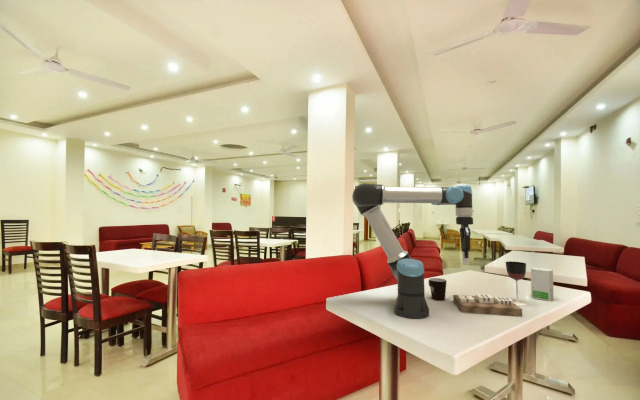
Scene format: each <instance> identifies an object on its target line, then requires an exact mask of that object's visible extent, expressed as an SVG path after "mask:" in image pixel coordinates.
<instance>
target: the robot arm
mask: <svg viewBox="0 0 640 400" xmlns="http://www.w3.org/2000/svg"><path fill="white" fill-rule="evenodd" d="M471 186H472V185H466V184H465V185H464V184H461V185H455V186H448V187H447V186H441V187H440V186H384V184H374V183H365V182H364V183H361V184H359V185H357V186H355V188H354V189H353V192H352V196H351V199H352V202H353V204H354V205H355V206H356V208H357V210H358V212H359V214H360V215H361V216H363V217H365V218H366V220H367V222H368V224H369V226H370V228H371V229H372V232H374V235H375V236H376V238H377V240H378V242H379V244H380V245H381V248H382V250H383V251H384V253H385V255H386V257H387V260H386V263H387V265H388V267H389V268H390V270H391V274H392V275H393V277H394V278H395V279H396V280H397V296H396V299H395V303H394V307H393V311H394V313H395V315H397V314H398V315H397V316H399V315H400V317H402V316H403V318H407V319H424V318H428V317H429V316H430V308H429V304H428V302H427V300H426V296H425V268H424V263H423V262H422V261H421V260H419V259H415V258H412V257H411V256H410V254H409V252H408V251H406V250H404V249H403V246H402V245H401V244H400V242H399V240H398V238H397V236H396V234H395V233H394V231H393V229H392V227H391V225H390V224H389V222H388V220H387V218H386V217H385V214H384V213H383V212H382V210H381V207H382V205H384V204H386V203H387V204H431V205H433V206H447V205H449V206H450V205H451V206H452V205H453V206H455V216H456V218H455V223H456V224H455V225H460V228H459V238H460V249H461V252H462V265H463V266H470V251H471V233H472V232H471V228H470V227H469V226H471V225H474V217H472V216H474V215H473V212H474V209H473V191H472V187H471Z"/></svg>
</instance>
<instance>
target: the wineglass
mask: <svg viewBox="0 0 640 400" xmlns="http://www.w3.org/2000/svg"><path fill="white" fill-rule="evenodd" d="M505 269H506V273H507V275H508V277H509V278H511V279H513V280H514V281H515V292H516V293H515V294H516V295H515V297H516V300H515V301H514V300H512V301H513V302H514V304H516V305H517V306H518V307H520V306H521V307H524V306H527V305H528V304H527V303H525V302H522V301H520V300H519V284H518V281H521V280H522V279H524V278H525V276H526V274H527V272H526V271H527V263H525V262H521V261H511V260H510V261H505Z"/></svg>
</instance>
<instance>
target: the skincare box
mask: <svg viewBox="0 0 640 400" xmlns="http://www.w3.org/2000/svg"><path fill="white" fill-rule="evenodd" d="M530 287H531V288H530V291H531V293H530V294H531V295H530V296H531V298H532V299H536V300H541V301H546V302H549V301H550V302H552V301H554V270H553V269H549V268H541V267H531V268H530Z"/></svg>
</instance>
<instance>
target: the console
mask: <svg viewBox="0 0 640 400" xmlns="http://www.w3.org/2000/svg"><path fill="white" fill-rule="evenodd" d="M458 295H459V294H453V303H454V304H455V305H456V306H457V308H458V310H459V312H461V313H464V314H465V313H466V314H480V315H493V316H507V317H520V318H521V317H523V308H521V307H520V306H519V305H516V304H514V305H504V304H497V303H496V302H495V301H494V303H479V302H478V301H477V300H476V295H471V296H472V297H473V298H474V299H475V303H472V302H460V301H459V300H458ZM461 295H462V294H461ZM462 296H467V295H466V294H465V295H464V294H463V295H462ZM492 297H493V298H494V297H495V296H492Z"/></svg>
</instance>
